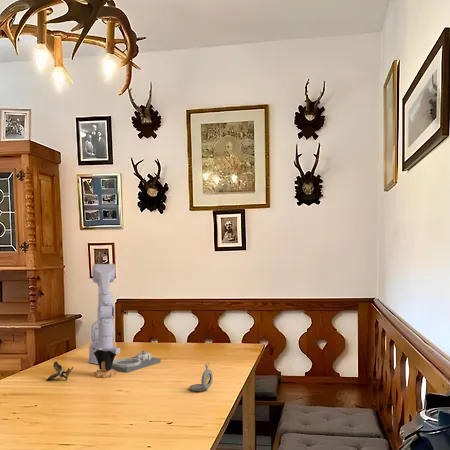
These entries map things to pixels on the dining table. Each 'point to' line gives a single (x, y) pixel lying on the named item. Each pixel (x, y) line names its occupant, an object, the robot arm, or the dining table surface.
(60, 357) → the dining table surface
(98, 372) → the planet gear
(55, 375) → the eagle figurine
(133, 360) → the carrier plate
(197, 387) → the pocket watch
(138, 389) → the dining table surface
